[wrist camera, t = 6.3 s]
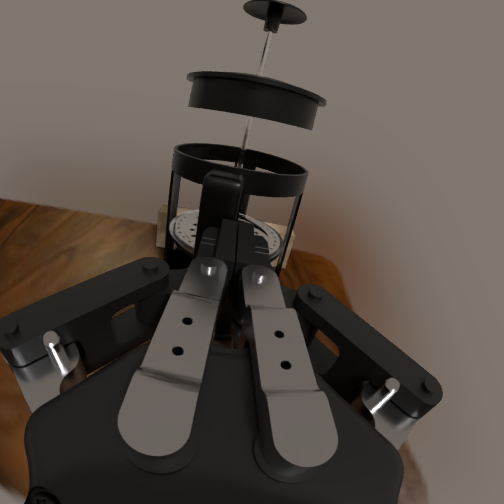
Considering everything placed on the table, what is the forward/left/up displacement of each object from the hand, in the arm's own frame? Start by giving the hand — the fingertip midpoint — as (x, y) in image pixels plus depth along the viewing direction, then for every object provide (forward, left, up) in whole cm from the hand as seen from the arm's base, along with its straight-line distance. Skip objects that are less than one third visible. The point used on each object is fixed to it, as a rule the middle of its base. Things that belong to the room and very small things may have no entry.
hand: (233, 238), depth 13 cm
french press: (0, +6, -9) cm, 11 cm away
